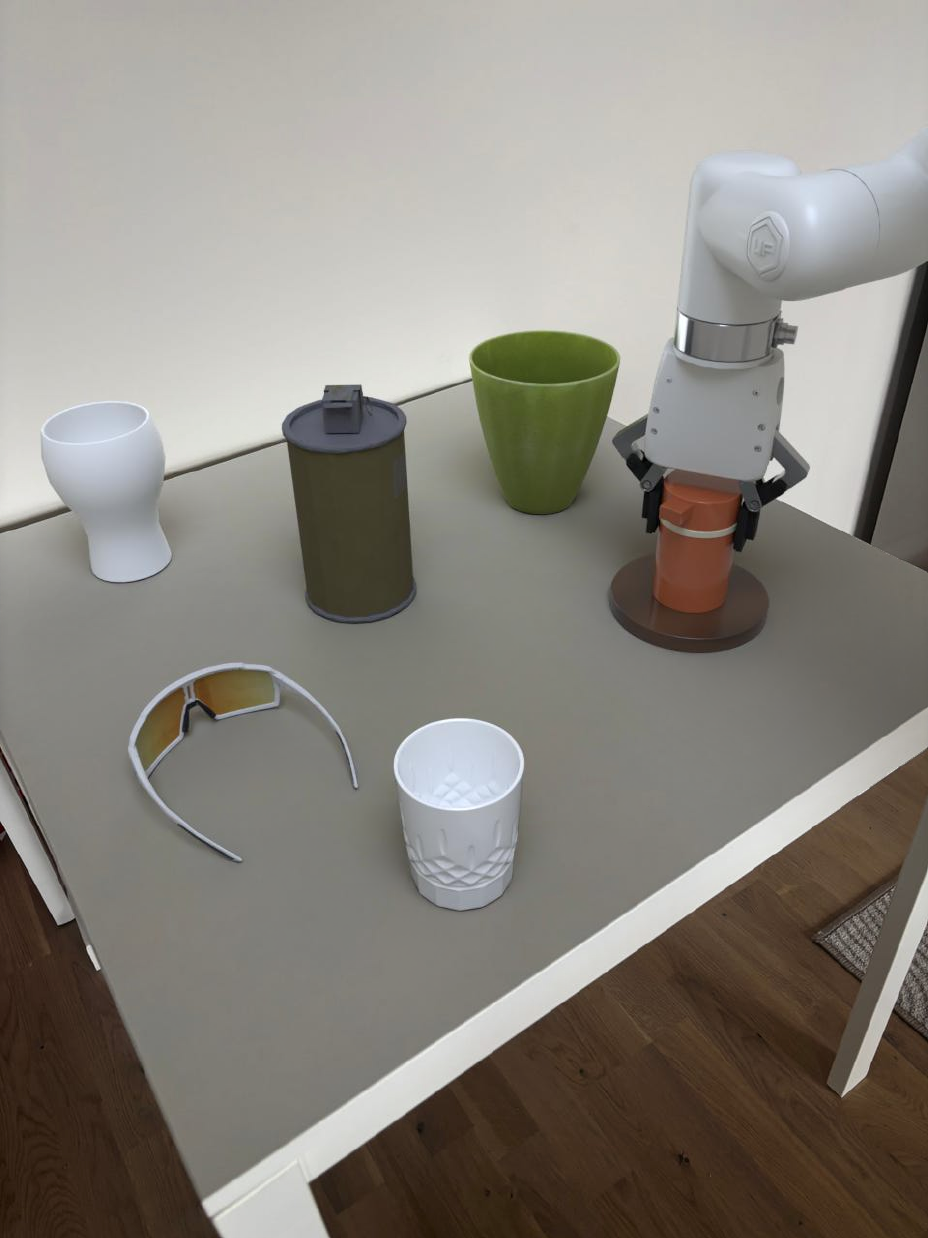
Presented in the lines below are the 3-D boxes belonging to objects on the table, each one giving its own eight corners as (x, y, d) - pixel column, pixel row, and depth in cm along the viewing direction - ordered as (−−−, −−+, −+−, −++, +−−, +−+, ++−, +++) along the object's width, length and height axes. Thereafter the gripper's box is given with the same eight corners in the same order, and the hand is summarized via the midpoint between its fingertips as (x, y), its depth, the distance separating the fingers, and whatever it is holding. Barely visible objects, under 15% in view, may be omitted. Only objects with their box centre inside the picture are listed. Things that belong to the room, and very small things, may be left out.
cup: (193, 578, 94) (161, 435, 85) (78, 601, 91) (33, 455, 82) (180, 526, 102) (150, 391, 93) (74, 546, 99) (33, 408, 90)
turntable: (800, 623, 86) (803, 609, 85) (672, 671, 81) (674, 657, 80) (699, 550, 96) (700, 537, 95) (580, 589, 91) (580, 576, 90)
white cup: (386, 847, 66) (375, 739, 60) (491, 811, 69) (491, 704, 63) (429, 937, 60) (421, 826, 54) (542, 894, 63) (546, 784, 57)
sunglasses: (266, 679, 81) (262, 636, 77) (380, 792, 73) (381, 749, 70) (107, 763, 73) (96, 718, 70) (215, 899, 65) (208, 856, 62)
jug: (689, 554, 93) (703, 449, 86) (753, 580, 89) (773, 472, 82) (625, 602, 86) (635, 492, 80) (691, 632, 83) (707, 519, 76)
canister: (413, 623, 87) (400, 415, 75) (297, 624, 87) (266, 417, 76) (419, 558, 96) (408, 363, 84) (314, 560, 96) (289, 365, 84)
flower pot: (533, 454, 114) (536, 319, 105) (637, 495, 105) (650, 352, 96) (443, 500, 105) (438, 357, 96) (548, 548, 97) (553, 397, 87)
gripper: (851, 331, 73) (807, 534, 84) (629, 304, 79) (614, 496, 90) (836, 366, 68) (791, 579, 78) (599, 334, 74) (587, 535, 84)
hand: (696, 533), depth 84 cm, fingers closed on jug, 6 cm apart
